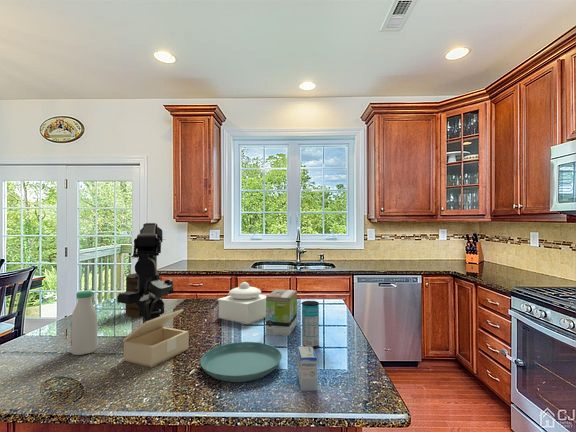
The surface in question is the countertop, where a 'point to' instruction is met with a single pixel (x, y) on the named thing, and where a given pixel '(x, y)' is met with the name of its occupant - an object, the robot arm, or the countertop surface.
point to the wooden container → (130, 286)
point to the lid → (153, 324)
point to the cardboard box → (156, 346)
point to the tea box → (281, 312)
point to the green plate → (241, 361)
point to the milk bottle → (84, 325)
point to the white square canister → (243, 305)
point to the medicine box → (307, 369)
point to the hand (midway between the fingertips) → (147, 319)
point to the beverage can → (310, 324)
